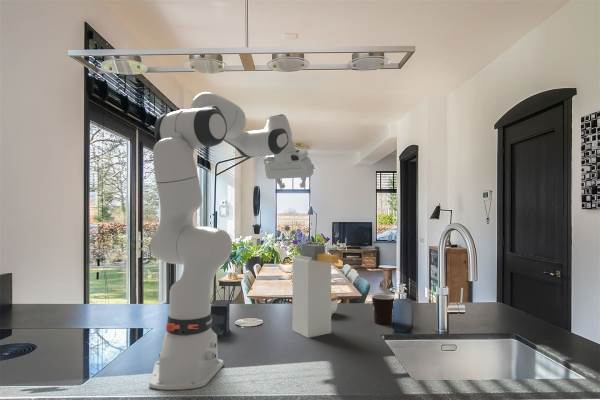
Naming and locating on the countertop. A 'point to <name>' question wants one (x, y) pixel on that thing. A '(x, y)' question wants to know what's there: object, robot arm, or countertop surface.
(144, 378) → the countertop surface
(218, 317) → the box
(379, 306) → the coffee mug
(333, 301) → the lidded jar
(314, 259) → the grey and orange bar
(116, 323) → the countertop surface
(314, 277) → the tall grey pillar
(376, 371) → the countertop surface
